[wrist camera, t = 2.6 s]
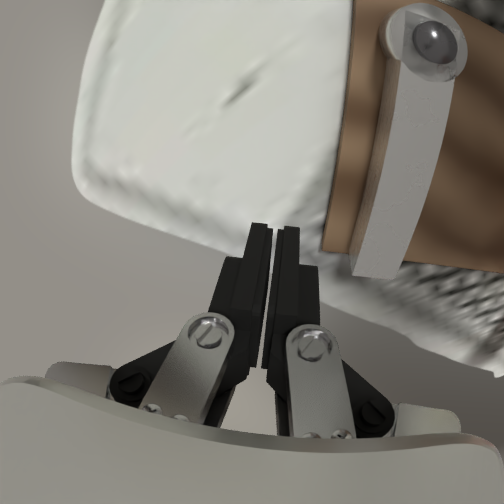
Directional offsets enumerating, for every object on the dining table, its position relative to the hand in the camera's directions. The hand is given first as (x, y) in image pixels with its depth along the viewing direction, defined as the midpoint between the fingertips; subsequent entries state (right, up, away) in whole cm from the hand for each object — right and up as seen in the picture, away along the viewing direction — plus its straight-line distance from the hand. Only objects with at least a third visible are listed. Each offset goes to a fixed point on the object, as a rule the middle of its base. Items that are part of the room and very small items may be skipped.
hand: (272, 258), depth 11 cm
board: (+18, +8, +7) cm, 21 cm away
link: (+9, +8, +7) cm, 14 cm away
